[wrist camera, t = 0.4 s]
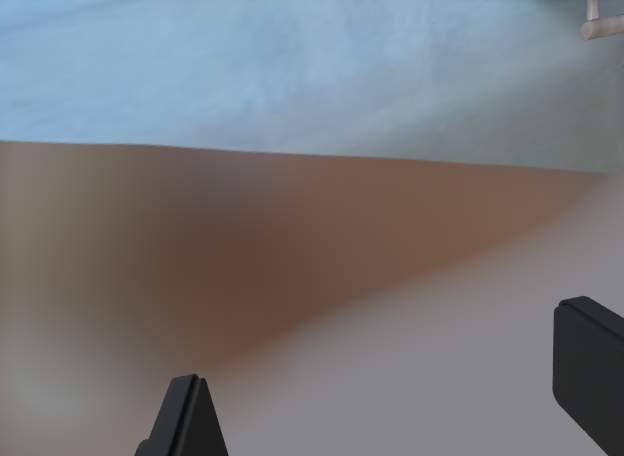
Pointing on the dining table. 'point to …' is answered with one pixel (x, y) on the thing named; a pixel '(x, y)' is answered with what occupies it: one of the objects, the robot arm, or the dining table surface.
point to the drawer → (600, 23)
